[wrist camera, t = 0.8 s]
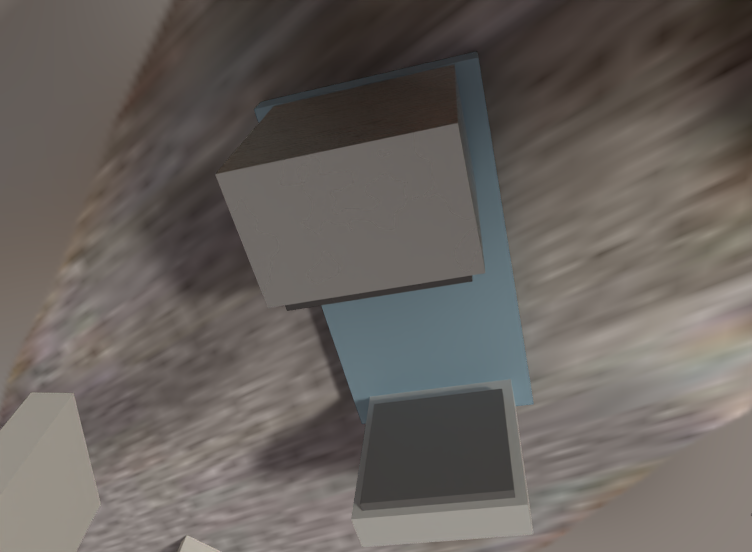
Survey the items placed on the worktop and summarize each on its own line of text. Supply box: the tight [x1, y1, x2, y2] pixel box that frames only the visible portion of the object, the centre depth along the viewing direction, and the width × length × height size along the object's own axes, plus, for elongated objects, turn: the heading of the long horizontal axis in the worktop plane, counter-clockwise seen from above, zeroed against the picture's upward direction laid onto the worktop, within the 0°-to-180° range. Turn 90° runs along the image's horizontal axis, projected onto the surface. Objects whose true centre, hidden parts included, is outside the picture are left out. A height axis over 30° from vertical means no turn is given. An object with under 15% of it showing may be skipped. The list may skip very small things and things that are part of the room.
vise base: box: [254, 51, 534, 547], centre depth 34 cm, size 12×23×12 cm, turn 14°
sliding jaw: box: [215, 65, 485, 311], centre depth 29 cm, size 10×7×10 cm
